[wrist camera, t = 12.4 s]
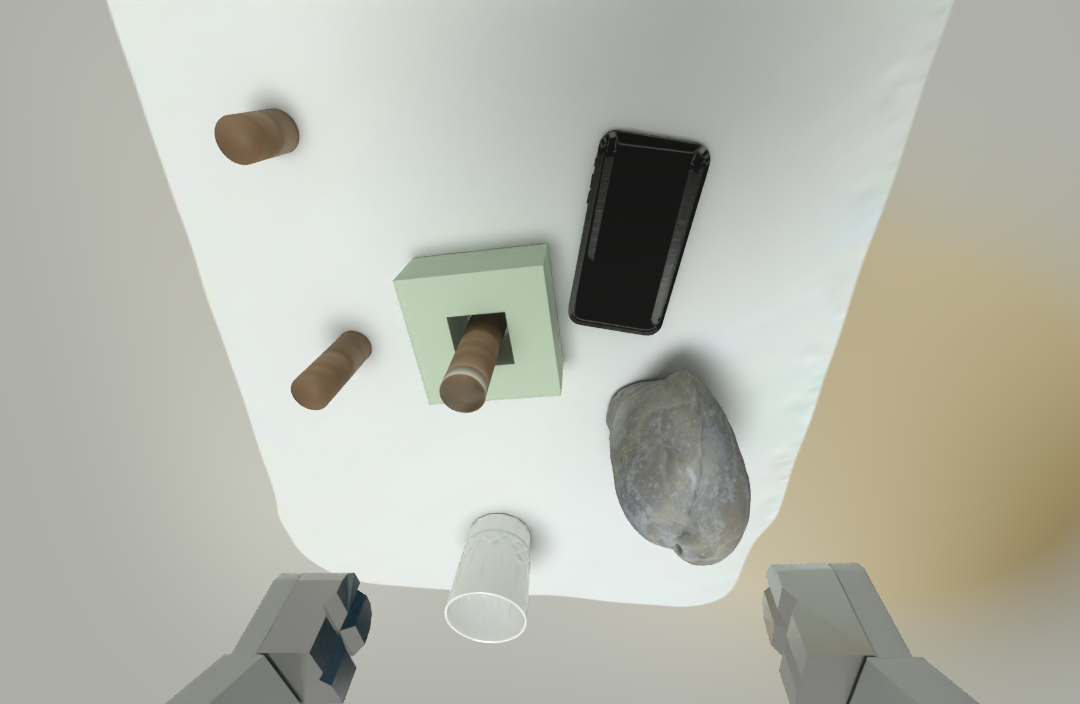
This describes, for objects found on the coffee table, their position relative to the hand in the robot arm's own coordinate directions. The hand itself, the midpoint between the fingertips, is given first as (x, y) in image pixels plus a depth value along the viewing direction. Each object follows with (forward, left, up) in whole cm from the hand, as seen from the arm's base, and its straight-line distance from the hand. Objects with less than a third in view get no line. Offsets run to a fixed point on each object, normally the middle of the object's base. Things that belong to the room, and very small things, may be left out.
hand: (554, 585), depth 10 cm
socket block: (+8, -8, -32) cm, 34 cm away
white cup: (+35, -12, -32) cm, 49 cm away
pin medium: (+10, -21, -32) cm, 40 cm away
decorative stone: (+20, +6, -32) cm, 39 cm away
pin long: (+8, -8, -32) cm, 34 cm away
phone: (+3, +4, -33) cm, 33 cm away
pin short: (-8, -21, -32) cm, 39 cm away
